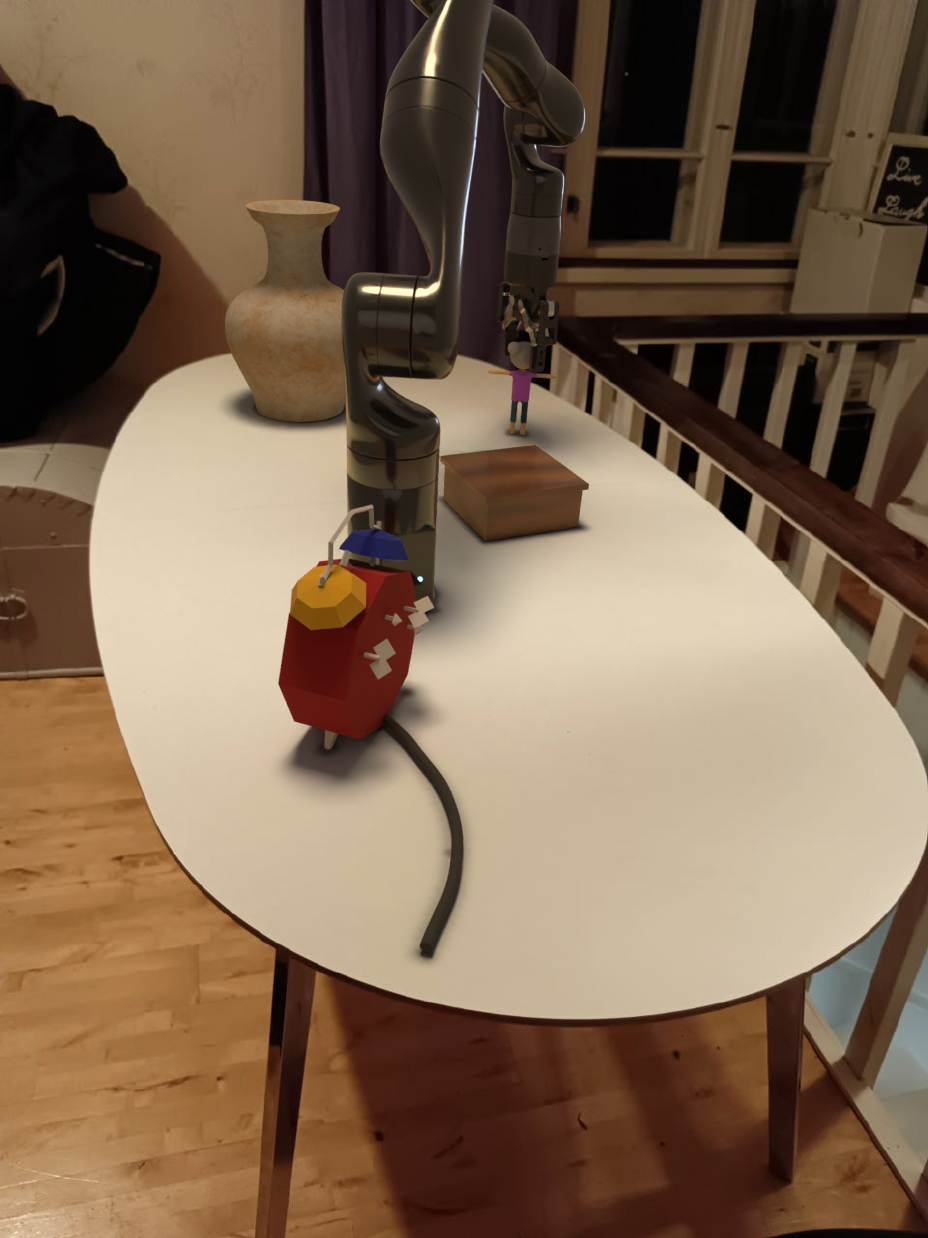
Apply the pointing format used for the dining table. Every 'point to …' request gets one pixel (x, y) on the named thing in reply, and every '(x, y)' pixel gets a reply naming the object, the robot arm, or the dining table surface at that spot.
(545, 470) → the wooden stand
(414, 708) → the dining table surface
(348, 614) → the alarm clock
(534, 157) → the robot arm
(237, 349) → the vase
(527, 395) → the toy
